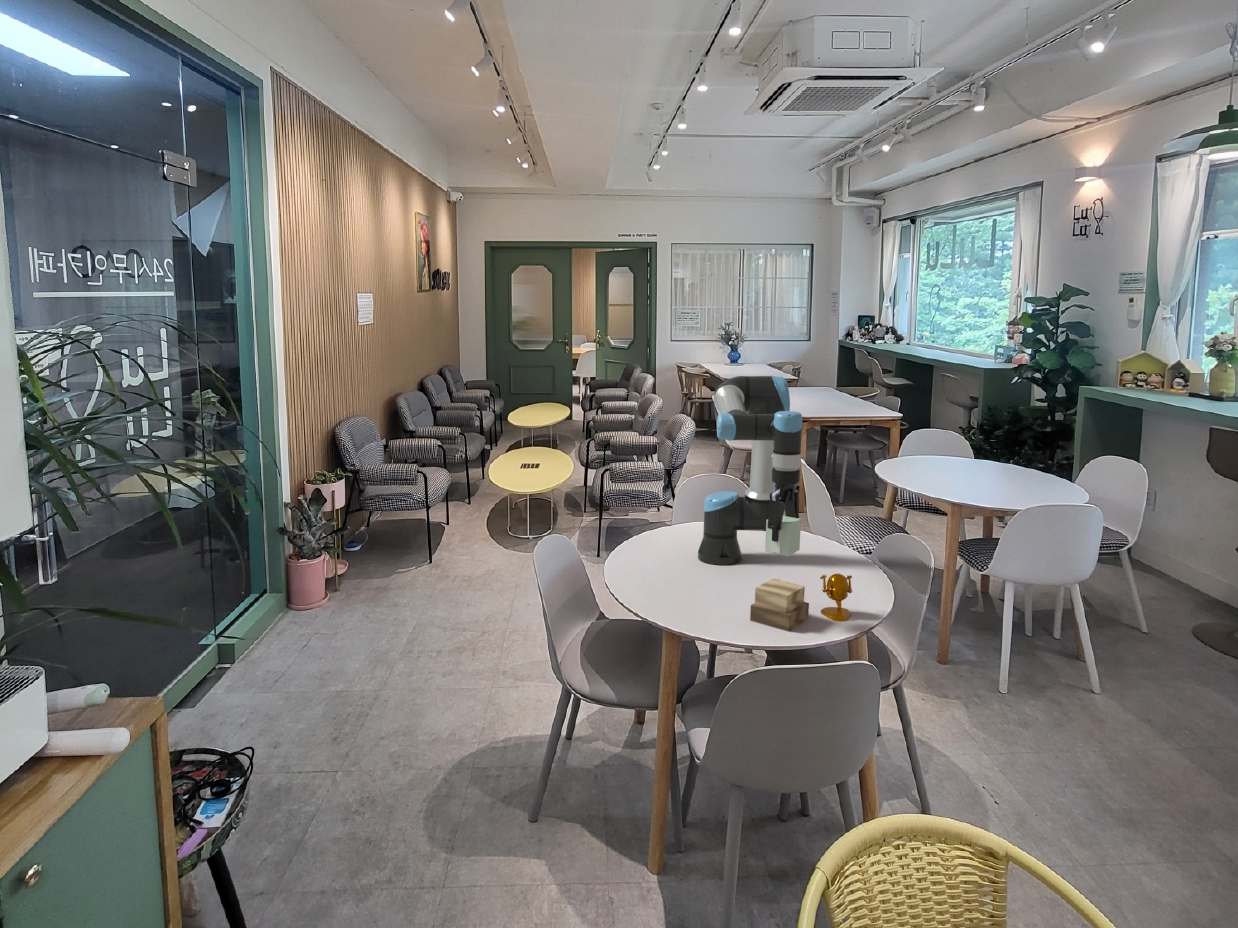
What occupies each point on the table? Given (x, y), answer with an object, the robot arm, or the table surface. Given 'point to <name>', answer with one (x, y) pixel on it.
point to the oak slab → (779, 595)
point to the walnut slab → (779, 616)
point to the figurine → (837, 596)
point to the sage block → (786, 536)
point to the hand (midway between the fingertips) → (782, 548)
